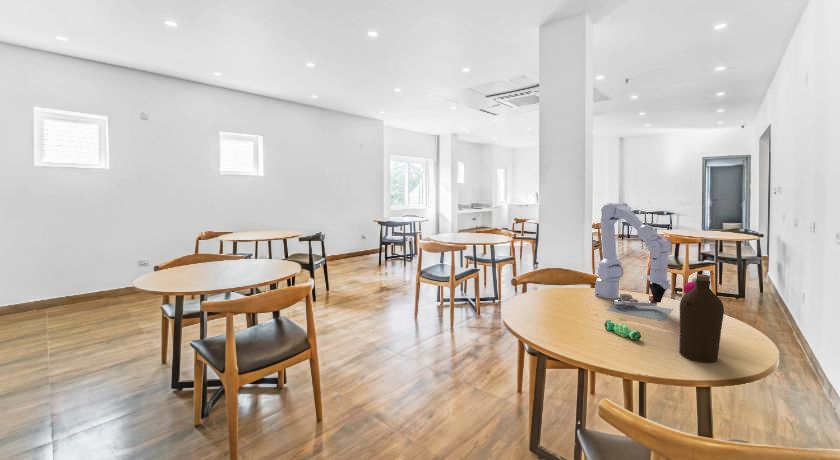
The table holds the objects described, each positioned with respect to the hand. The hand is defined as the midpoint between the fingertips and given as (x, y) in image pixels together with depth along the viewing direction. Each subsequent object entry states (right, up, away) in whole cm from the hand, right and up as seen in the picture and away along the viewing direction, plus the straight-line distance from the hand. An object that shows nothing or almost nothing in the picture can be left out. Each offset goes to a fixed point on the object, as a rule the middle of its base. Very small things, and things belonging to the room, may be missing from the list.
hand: (657, 302), depth 150 cm
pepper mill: (-1, -8, -20) cm, 21 cm away
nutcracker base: (-6, -5, +3) cm, 8 cm away
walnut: (-6, -3, +9) cm, 11 cm away
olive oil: (-11, -10, -37) cm, 39 cm away
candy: (-24, -8, -19) cm, 32 cm away
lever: (-6, -2, +4) cm, 8 cm away
